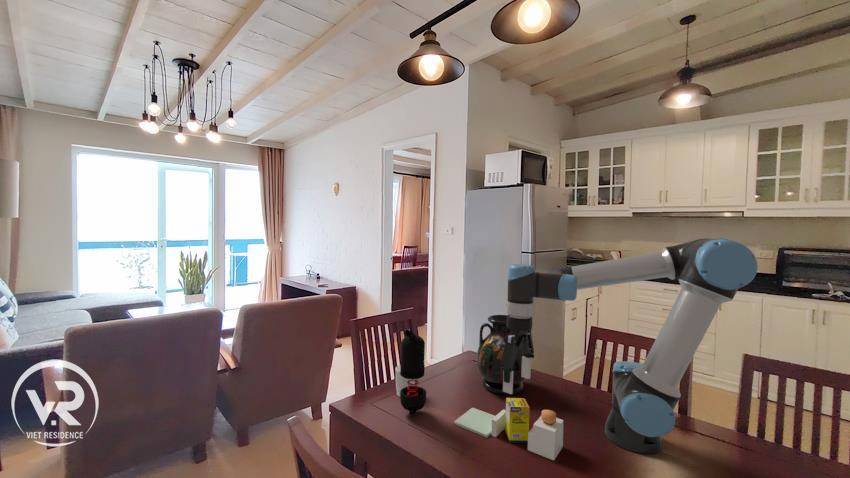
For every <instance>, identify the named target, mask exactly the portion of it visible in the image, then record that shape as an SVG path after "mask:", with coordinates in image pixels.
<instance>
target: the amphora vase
mask: <svg viewBox="0 0 850 478" xmlns="http://www.w3.org/2000/svg"><path fill="white" fill-rule="evenodd" d="M508 315H509V314H495V315H493V314H492V315H490V316H488V317H487V321H488V322H489V323H487V322H484V323H482V325H481V326H480V328H479V341H478V342H479V343H478V349H477V351H476V357H475V365H476V367H477V371H478V372H479V374H480V376H481V377H482V379H481V385H482V386H483V388H484V389H486V390H487V391H490V392H492V393H493V394H498V395H510V394H509V393H506V392H503V370H500V364H501V360H502V355H503V351H504V346H505V340H506V335H509V336H510V335H511V330H510V329H509V328H507V316H508ZM491 324H492V325H491ZM485 327H488V328H489V331H490V332H489V333H488V334H487V335H486V336H485V338H483V332H484V328H485ZM523 356H524V355H523V353H522V350H521V348H520V350H519V351H518V352H517V356H516V359H515V362H514V365H513V368H512V371H513V394H512V395H515V394H518V393H520V392H521V391H522V390H523V389H524V383H523V382H524V381H525V380H526V379H527V378H523V377H521V371H522V357H523ZM524 357H525V356H524Z"/></svg>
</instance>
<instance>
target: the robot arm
mask: <svg viewBox="0 0 850 478" xmlns="http://www.w3.org/2000/svg"><path fill="white" fill-rule="evenodd" d="M757 260H758V259H757V258H756V256H755V254H754V253H753V251H752V250H751V249H750V248H749V247H747V245H745V244H743V243H741V242H739V241H736V240H732V239H728V238H698V239H694V240H690V241H687V242H684V243H680V244H676V245H670V246H666V247H663V248H662V249H660V251H657V252H651V253H645V254H637V255H633V256H627V257H620V258H616V259H615V258H614V259H609V260H604V261H598V262H592V263H585V264H580V265H574V266H569V267H568V266H567V267H564V268H557V267H556V268H552V269H549V270H548V271H547V272H537V271H535V267H534V266H533V265H532V264H531V265H530V264H523V263H522V264H511V265H510V266H509V268H508V276H507V277H508V278H507V302H506V306H507V308H506V313H507V315H508V316H507V328H509V329H510V330H511V335H510V336H509V335H506V340H505V346H504V351H503V355H502V360H501V364H500V370H503V392H506V393H509V395H514V394H513V371H512V368H513V365H514V362H515V359H516V356H517V352H518V351H519V350H520V348H521V350H522V353H523V355H524V356H525V357H524V356H523V357H522V371H521V377H523V378H526V379H527V380H530V379H531V374H532V373H531V370H532V369H531V367H532V359H534V358H535V350H534V349H535V348H534V342H533V337H532V329H533V314H534V298H537V299H546V300H547V299H548V300H559V301H562V302H565V301H571V302H574V301H576V299H577V294H578V290H585V289H592V288H599V287H606V286H612V285H621V284H627V283H634V282H641V281H649V280H655V279H661V278H662V279H663V278H668V279H670V280H671V281H672V280H677V281H678V282H679V285H680V286H681V288H680V291H679V293H678V295H677V296H676V299H675V300H674V302H673V304H672V306H671V308H670V310H669V312H668V314H667V316H666V319H665V320H664V323H663V324H662V327H661V328H660V330H659V331H658V334H657V336H656V339H655V340H654V342H653V344H652V346H651V348H650V350H649V352H648V354H647V355H646V358H645V360H644V361H643V363H639V362H634V361H627V360H624V361H623V360H620V361H615V362H614V364H613V369H612V371H611V372H612V394H611V399H612V400H611V410H610V412H609V415H608V416H607V419H606V422H605V424H604V434H605V436H606V437H607V439H608V440H610V442H612V443H613V444H615V445H616V446H619V447H621V448H623V449H626V450H628V451H632V452H635V453H638V454H647V455H648V454H649V455H650V454H657V453H659V452H661V450H663V436H665V435H667V434H669V433H670V432H671V431H672V430H673V429H674V427H675V425H676V424H675V422H676V413H675V408H676V406H677V404H678V402H679V400H680V398H681V396H682V394H681V391H680V390H679V384H680V383H681V380H682V378H683V376H684V374H685V372H686V371H687V370H688V367H689V365H690V363H691V361H692V360H693V358H694V355H695V354H696V353H697V351H698V349H699V346H700V345H701V343H702V341H703V340H704V337H705V335H706V333H707V332H708V329H709V328H710V327H711V326H710V325H711V324H712V322H713V320H714V318H715V316H716V314H717V313H718V311H719V308H720V307H721V305H722V304H724V303H729V302H730V301H731V302H732V301H733V299H734V298H735V296H736V294H737V292H738V290H739V289H741V288H743V287H746V286H747V285H748V284H750V283H751V282H752V281H753V280H754V278H755V277H756V275H757V273H758V268H759V267H758V261H757Z"/></svg>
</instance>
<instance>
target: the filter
mask: <svg viewBox="0 0 850 478" xmlns="http://www.w3.org/2000/svg"><path fill="white" fill-rule="evenodd" d="M413 332H414V330H410V329H406V330H405V331H404V335H405V336H404V337H403V338H402V340H401V342H400V343H401V344H400V364H399V365H400V366H401V367H400V368H401V369H400V370H401V371H400V375H401V376H402V377H404V378H406V379H415V380H409V381H407V383H408V387H405V388H403V389H402V390H401V391H400V397H399V399H400V405H401V406H402V408H403V409H404V410H406V411H407V412H408V413H409V415H411V416H414V415H416V414H417V412H418V411H420V410H422V409H423V408H424V406H425V404H426V401H427V390H426V388H423V387H422V386H418V384H419V379H422V378H423V377H424V376H425V355H426V354H425V351H426V350H425V349H426V348H425V346H426V344H425V340H424V338H423V337H421V336H420V335H417V334H415V333H413ZM410 381H415V384H411V383H409V382H410ZM409 385H410V386H409Z"/></svg>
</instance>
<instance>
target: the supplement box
mask: <svg viewBox="0 0 850 478" xmlns="http://www.w3.org/2000/svg"><path fill="white" fill-rule="evenodd" d="M530 409H531V408H530V405H529V404H528V402H527V400H526V398H524V397H523V398H522V397H506V398H505V410H506V421H505V429H504V433H505V435H506V438H507V440H508V443H510V444H511V443H514V444H517V443H518V444H528V432H529V431H530V413H531V412H530Z"/></svg>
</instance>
